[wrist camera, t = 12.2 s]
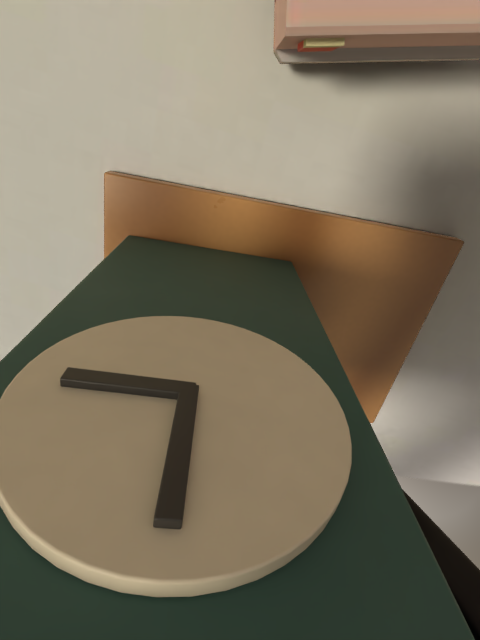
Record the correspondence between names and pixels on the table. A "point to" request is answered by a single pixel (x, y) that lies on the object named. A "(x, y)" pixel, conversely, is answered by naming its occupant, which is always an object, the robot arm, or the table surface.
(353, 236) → the wooden board
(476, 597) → the robot arm
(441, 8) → the toy car
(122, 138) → the table surface
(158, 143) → the table surface
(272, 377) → the clock
